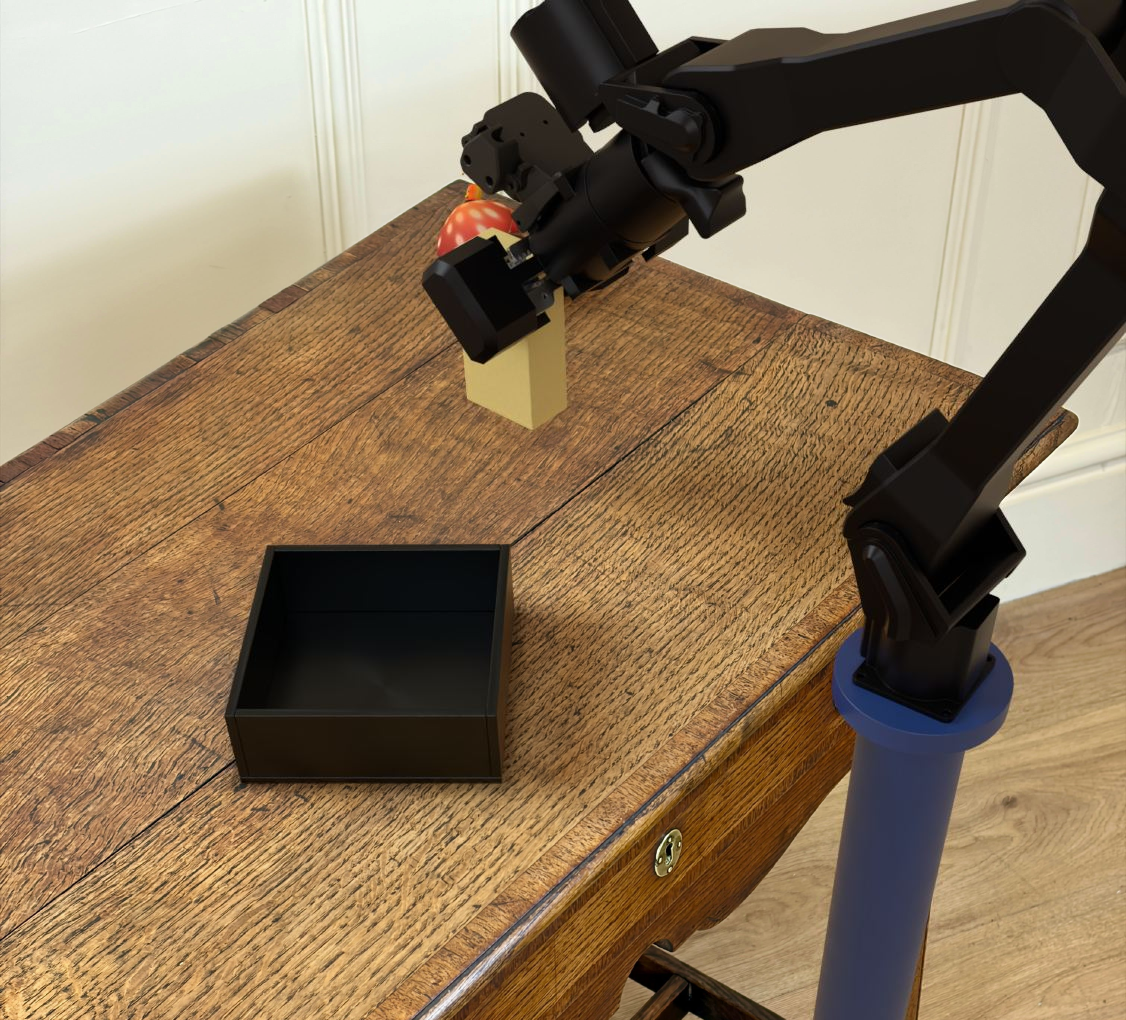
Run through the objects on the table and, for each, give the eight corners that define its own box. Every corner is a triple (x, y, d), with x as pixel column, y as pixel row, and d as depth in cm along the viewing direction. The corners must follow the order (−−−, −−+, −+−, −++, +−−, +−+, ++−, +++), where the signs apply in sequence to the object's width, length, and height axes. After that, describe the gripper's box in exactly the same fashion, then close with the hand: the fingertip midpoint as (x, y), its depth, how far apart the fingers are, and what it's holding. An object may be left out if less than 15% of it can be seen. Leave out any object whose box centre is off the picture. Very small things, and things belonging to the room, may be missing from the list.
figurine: (542, 330, 125) (538, 230, 119) (430, 317, 127) (420, 218, 121) (578, 256, 133) (576, 159, 127) (472, 245, 135) (465, 149, 129)
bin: (514, 611, 101) (510, 543, 97) (502, 783, 91) (496, 715, 87) (280, 611, 102) (266, 544, 98) (240, 783, 91) (223, 716, 87)
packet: (501, 377, 108) (491, 226, 100) (567, 408, 105) (562, 255, 97) (466, 399, 106) (453, 247, 98) (532, 431, 103) (524, 278, 95)
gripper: (655, 14, 92) (523, 147, 105) (429, 125, 82) (316, 256, 95) (757, 181, 93) (615, 291, 107) (548, 310, 84) (421, 413, 97)
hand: (496, 308), depth 101 cm, fingers closed on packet, 3 cm apart
